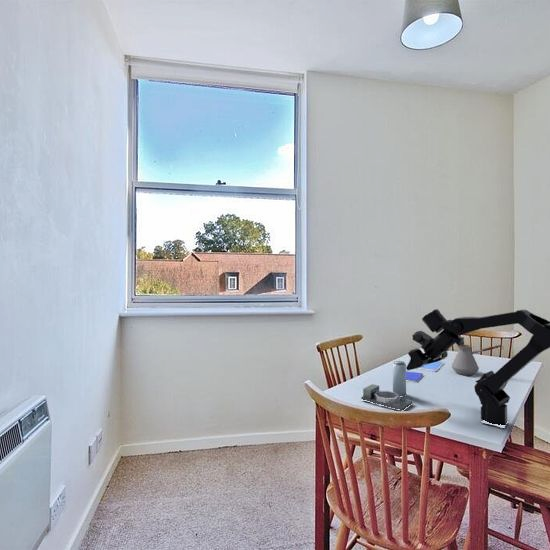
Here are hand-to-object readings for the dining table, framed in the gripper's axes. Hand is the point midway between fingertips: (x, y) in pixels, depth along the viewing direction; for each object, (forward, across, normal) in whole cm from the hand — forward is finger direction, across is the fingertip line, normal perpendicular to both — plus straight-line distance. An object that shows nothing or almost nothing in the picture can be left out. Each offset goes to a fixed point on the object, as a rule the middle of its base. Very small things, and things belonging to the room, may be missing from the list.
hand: (413, 367), depth 138 cm
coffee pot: (+8, -51, +10) cm, 52 cm away
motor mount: (+12, +11, +5) cm, 17 cm away
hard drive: (+20, -24, -2) cm, 32 cm away
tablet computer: (+24, -48, -6) cm, 54 cm away
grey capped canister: (+13, 0, +4) cm, 14 cm away
